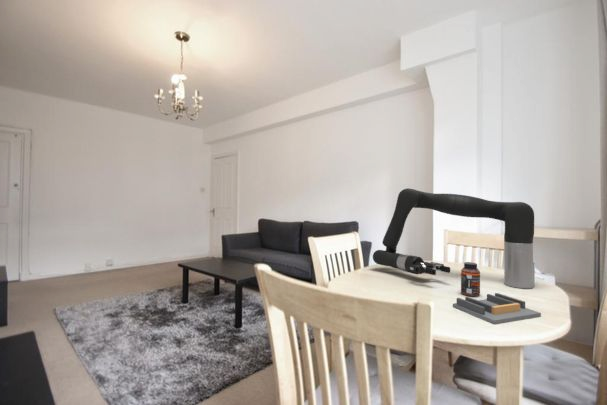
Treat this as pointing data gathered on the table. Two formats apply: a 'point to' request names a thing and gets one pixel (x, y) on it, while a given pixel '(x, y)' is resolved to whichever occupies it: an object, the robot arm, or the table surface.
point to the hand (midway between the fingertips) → (442, 271)
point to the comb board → (496, 308)
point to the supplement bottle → (470, 279)
